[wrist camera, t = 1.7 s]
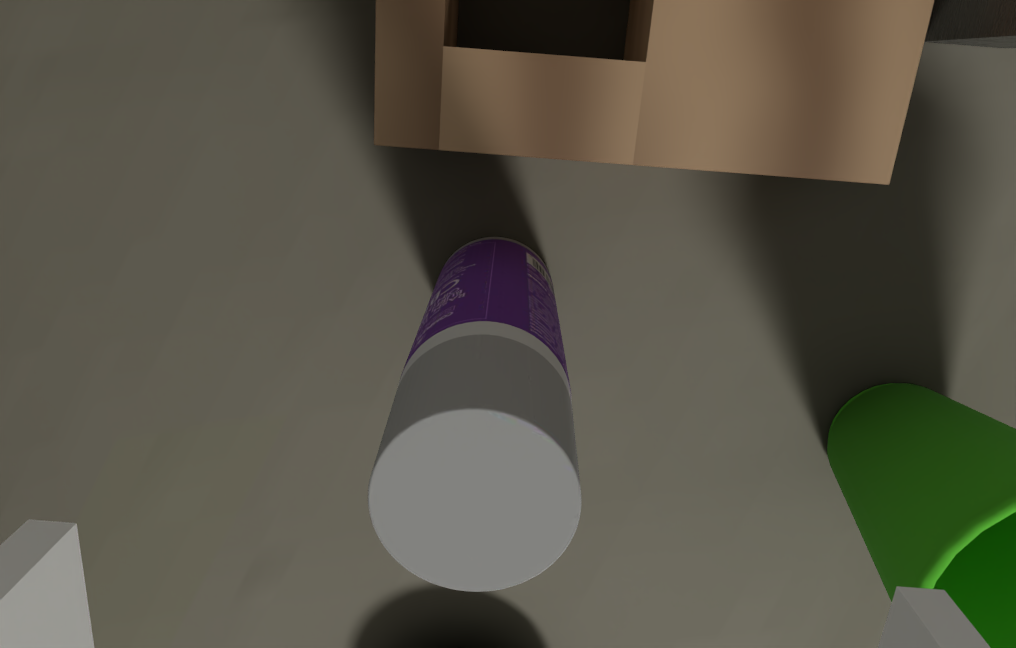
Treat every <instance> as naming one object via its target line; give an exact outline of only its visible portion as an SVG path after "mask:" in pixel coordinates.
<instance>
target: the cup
mask: <svg viewBox="0 0 1016 648" xmlns="http://www.w3.org/2000/svg"><path fill="white" fill-rule="evenodd" d="M827 454H828V458H829V462H830V466H831V468H832V470H833V472H834V475H835V477H836V479H837V481H838V483H839V486H840V488H841V490H842V492H843V495H844V497H845V499H846V501H847V504H848V506H849V508H850V510H851V512H852V515H853V517H854V519H855V521H856V524H857V526H858V528H859V530H860V533H861V535H862V537H863V539H864V541H865V544H866V546H867V548H868V550H869V553H870V555H871V557H872V559H873V562H874V564H875V566H876V568H877V570H878V573H879V575H880V577H881V579H882V582H883V584H884V586H885V588H886V591H887V593H888V595H889V597H890V599H891V602H892V600H893V597H894V593H895V590H896V587H897V586H899V587H912V588H925V589H938V590H945V591H946V593H947V594H948V595H949V596H950V598H951V599H952V600H953V601H954V603H955V604H956V605H957V606H958V608H959V609H960V610H961V611H962V613H963V614H964V615H965V616H966V618H967V619H968V620H969V621H970V623H971V624H972V625H973V626H974V628H975V629H976V630H977V631H978V633H979V634H980V635H981V636H982V638H983V639H984V640H985V641H986V643H987V644H988V645H989V646H990V648H1016V429H1015V428H1012V427H1010V426H1008V425H1006V424H1004V423H1002V422H999V421H997V420H995V419H993V418H991V417H989V416H986V415H984V414H982V413H980V412H978V411H976V410H973V409H971V408H969V407H967V406H965V405H963V404H960V403H958V402H956V401H954V400H952V399H950V398H947V397H945V396H943V395H941V394H939V393H937V392H934V391H932V390H930V389H928V388H926V387H922V386H918V385H915V384H906V383H889V384H883V385H878V386H874V387H872V388H869V389H867V390H864V391H862V392H860V393H859V394H857V395H856V396H854V397H853V398H851V399H850V400H849V401H848V402H847V403H846V404H845V405H844V406H843V407H842V408H841V409H840V410H839V412H838V413H837V415H836V416H835V418H834V420H833V421H832V424H831V427H830V430H829V434H828V446H827Z"/></svg>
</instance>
